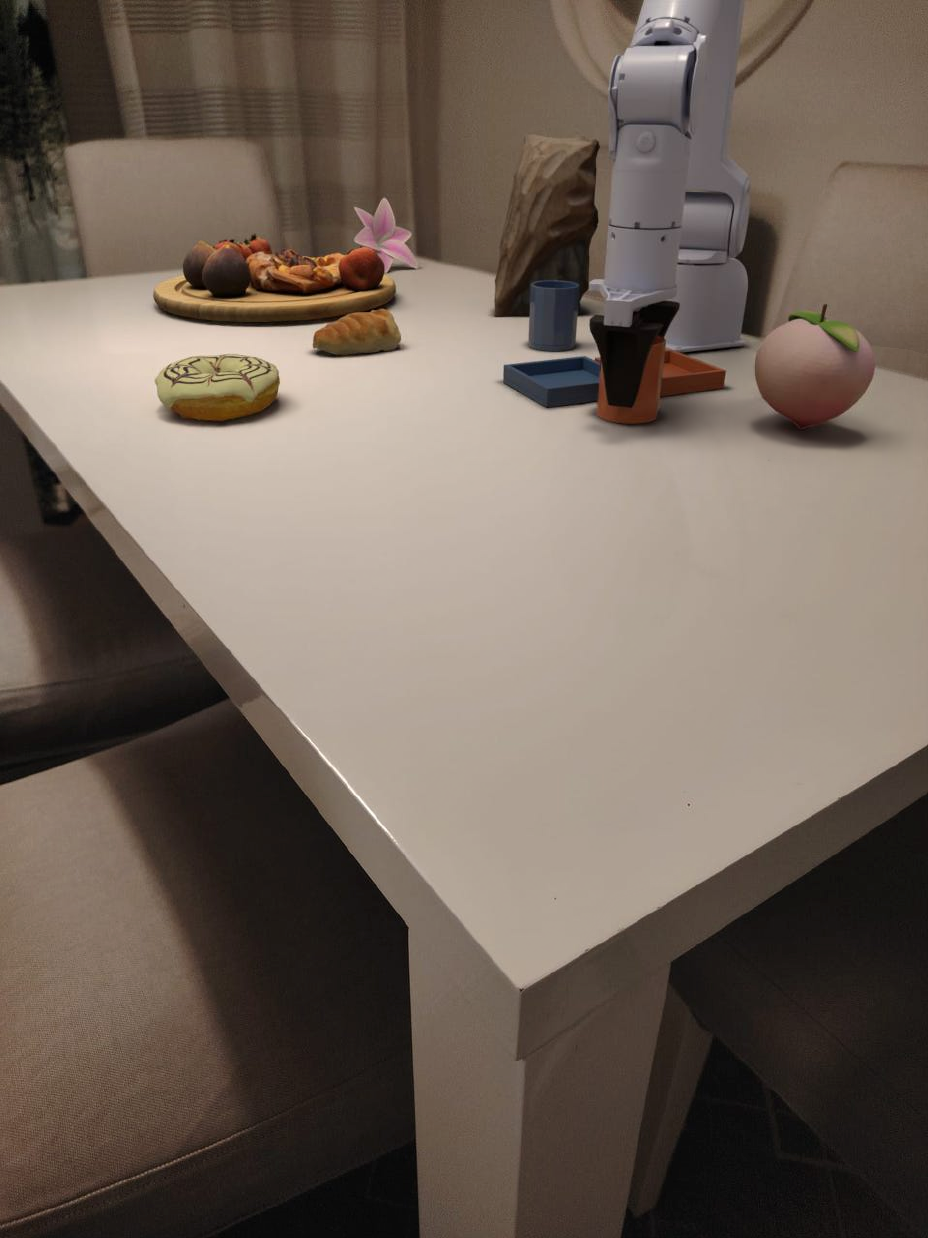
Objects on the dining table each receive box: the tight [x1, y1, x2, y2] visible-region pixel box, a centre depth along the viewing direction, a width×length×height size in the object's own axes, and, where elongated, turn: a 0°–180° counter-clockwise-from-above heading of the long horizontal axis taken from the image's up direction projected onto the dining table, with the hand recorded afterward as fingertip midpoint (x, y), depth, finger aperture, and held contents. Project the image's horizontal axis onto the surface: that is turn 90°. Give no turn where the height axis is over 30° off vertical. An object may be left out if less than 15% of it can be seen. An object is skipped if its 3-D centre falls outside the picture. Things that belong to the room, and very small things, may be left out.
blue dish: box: [502, 355, 600, 408], centre depth 85 cm, size 9×9×2 cm
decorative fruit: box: [754, 303, 876, 429], centre depth 73 cm, size 9×8×10 cm
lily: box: [353, 197, 419, 274], centre depth 145 cm, size 12×12×10 cm
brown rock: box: [493, 133, 601, 317], centre depth 114 cm, size 13×13×20 cm
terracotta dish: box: [594, 349, 727, 397], centre depth 88 cm, size 9×9×2 cm
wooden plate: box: [152, 233, 397, 323], centre depth 120 cm, size 32×32×8 cm
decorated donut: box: [154, 353, 281, 422], centre depth 79 cm, size 10×11×4 cm
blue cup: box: [527, 280, 579, 352], centre depth 99 cm, size 5×5×6 cm
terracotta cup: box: [596, 335, 666, 425], centre depth 77 cm, size 5×5×6 cm
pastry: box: [312, 308, 402, 356], centre depth 98 cm, size 9×7×4 cm
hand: (628, 396), depth 78 cm, fingers closed on terracotta cup, 5 cm apart
